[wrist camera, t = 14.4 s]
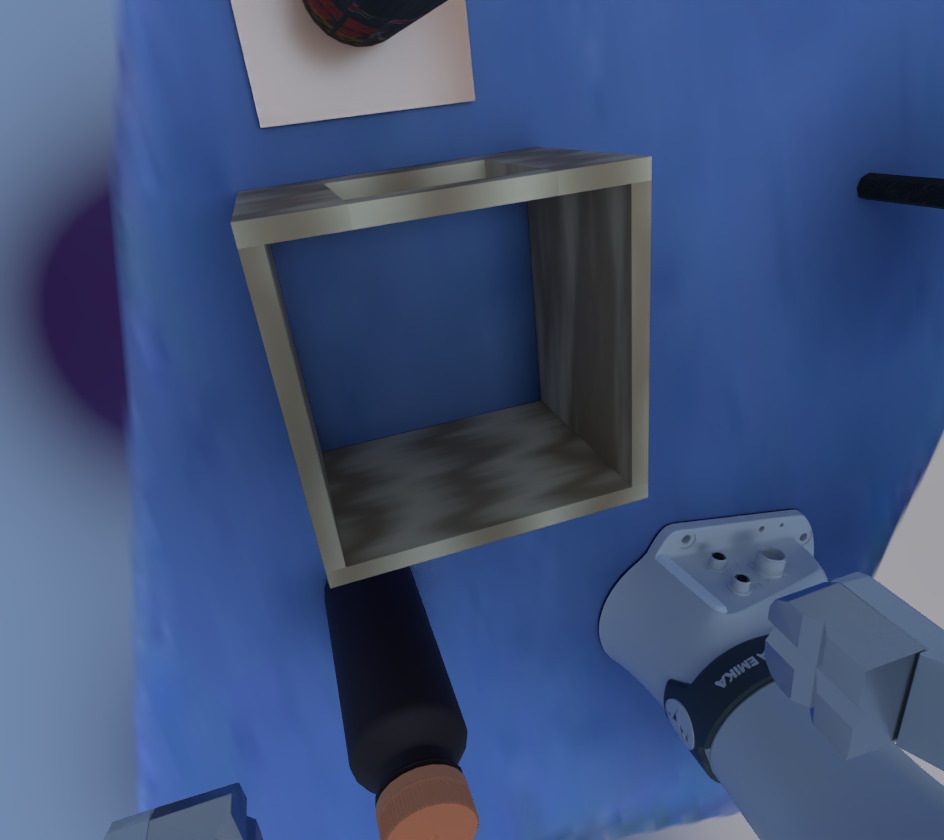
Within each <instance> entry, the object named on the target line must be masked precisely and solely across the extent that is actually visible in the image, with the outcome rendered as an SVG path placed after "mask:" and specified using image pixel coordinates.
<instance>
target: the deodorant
mask: <svg viewBox="0 0 944 840" xmlns="http://www.w3.org/2000/svg"><path fill="white" fill-rule="evenodd" d="M446 1H448V0H302V2H303V4H304V7H305V9H306V10H307V12H308V13H309V15H310V16H311V18H312V19H313V21H314V22H315V24H317V25H318V26H319V27H320V28H321V29H322V30H323V31H324V32H325V33H326V34H327V35H328V36H330V37H332V38H333V39H335V40H337V41H339V42H340V43H343V44H347V45H351V46H354V47H368V46H373V45H376V44H379V43H381V42H384V41H386V40H387V39H389V38H390V37H392V36H394V35H395V34H397V33H398V32H400V31H401V30H403V29H404V28H406V27H407V26H409V25H411V24H412V23H414V22H415V21H417V20H418V19H420V18H421V17H423V16H425V15H426V14H428V13H429V12H431V11H432V10H434V9H435V8H437V7H438V6H440V5H442V4H443V3H445V2H446Z"/></svg>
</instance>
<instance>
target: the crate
mask: <svg viewBox="0 0 944 840" xmlns="http://www.w3.org/2000/svg"><path fill="white" fill-rule="evenodd" d="M651 182H652V156H642V155H629V154H617V153H604V152H592V151H579V150H567V149H554V148H541V147H537V148H530V149H523V150H517V151H510V152H503V153H496V154H489V155H483V156H476V157H469V158H462V159H456V160H449V161H442V162H435V163H429V164H422V165H415V166H408V167H401V168H395V169H388V170H381V171H374V172H368V173H361V174H354V175H347V176H340V177H334V178H327V179H320V180H313V181H307V182H300V183H293V184H286V185H280V186H273V187H266V188H259V189H252V190H246V191H239V192H238V193H237V197H236V201H235V206H234V210H233V214H232V218H231V222H230V223H231V227H232V230H233V234H234V238H235V241H236V245H237V249H238V252H239V256H240V260H241V263H242V267H243V271H244V274H245V278H246V282H247V285H248V289H249V293H250V296H251V300H252V304H253V307H254V311H255V315H256V318H257V322H258V326H259V329H260V333H261V337H262V340H263V344H264V348H265V351H266V355H267V359H268V362H269V366H270V370H271V373H272V377H273V381H274V384H275V388H276V392H277V395H278V399H279V403H280V406H281V410H282V414H283V417H284V421H285V425H286V428H287V432H288V436H289V439H290V443H291V447H292V450H293V454H294V458H295V461H296V465H297V469H298V472H299V476H300V480H301V483H302V487H303V491H304V494H305V498H306V502H307V505H308V509H309V513H310V516H311V520H312V524H313V527H314V531H315V535H316V538H317V542H318V546H319V549H320V553H321V557H322V560H323V564H324V568H325V571H326V575H327V579H328V582H329V586H330V588H334V587H337V586H341V585H344V584H348V583H351V582H355V581H358V580H362V579H365V578H369V577H372V576H376V575H379V574H383V573H386V572H390V571H393V570H397V569H400V568H404V567H407V566H411V565H414V564H418V563H421V562H425V561H428V560H432V559H435V558H439V557H442V556H446V555H449V554H453V553H456V552H459V551H463V550H466V549H470V548H473V547H477V546H480V545H484V544H487V543H491V542H494V541H498V540H501V539H505V538H508V537H512V536H515V535H519V534H522V533H526V532H529V531H533V530H536V529H540V528H543V527H547V526H550V525H554V524H557V523H561V522H564V521H568V520H571V519H575V518H578V517H582V516H585V515H589V514H592V513H596V512H599V511H603V510H606V509H610V508H613V507H617V506H620V505H624V504H627V503H631V502H634V501H638V500H641V499H645V498H648V447H649V359H650V271H651ZM524 201H527V208H528V222H529V236H530V250H531V264H532V278H533V292H534V306H535V320H536V334H537V348H538V362H539V376H540V390H541V400H539V401H535V402H531V403H527V404H522V405H518V406H514V407H510V408H506V409H502V410H497V411H493V412H489V413H485V414H481V415H477V416H472V417H468V418H464V419H460V420H456V421H451V422H447V423H443V424H439V425H435V426H431V427H426V428H422V429H418V430H414V431H410V432H406V433H401V434H397V435H393V436H389V437H385V438H381V439H376V440H372V441H368V442H364V443H360V444H355V445H351V446H347V447H343V448H339V449H335V450H330V451H326V452H322V450H321V446H320V442H319V438H318V434H317V430H316V426H315V422H314V418H313V414H312V410H311V406H310V402H309V398H308V394H307V390H306V386H305V382H304V378H303V374H302V370H301V366H300V362H299V358H298V354H297V350H296V346H295V342H294V338H293V334H292V330H291V326H290V322H289V318H288V314H287V310H286V306H285V302H284V298H283V294H282V290H281V286H280V282H279V278H278V274H277V270H276V266H275V262H274V258H273V254H272V250H271V246H270V244H271V243H277V242H283V241H289V240H295V239H301V238H307V237H313V236H319V235H326V234H332V233H338V232H344V231H350V230H356V229H362V228H368V227H374V226H380V225H386V224H392V223H398V222H404V221H410V220H416V219H422V218H428V217H434V216H440V215H446V214H452V213H458V212H464V211H470V210H476V209H482V208H488V207H494V206H500V205H506V204H512V203H518V202H524Z"/></svg>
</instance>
